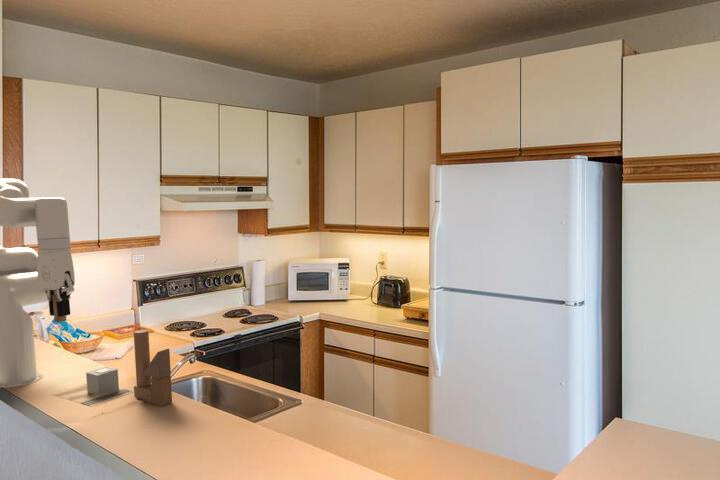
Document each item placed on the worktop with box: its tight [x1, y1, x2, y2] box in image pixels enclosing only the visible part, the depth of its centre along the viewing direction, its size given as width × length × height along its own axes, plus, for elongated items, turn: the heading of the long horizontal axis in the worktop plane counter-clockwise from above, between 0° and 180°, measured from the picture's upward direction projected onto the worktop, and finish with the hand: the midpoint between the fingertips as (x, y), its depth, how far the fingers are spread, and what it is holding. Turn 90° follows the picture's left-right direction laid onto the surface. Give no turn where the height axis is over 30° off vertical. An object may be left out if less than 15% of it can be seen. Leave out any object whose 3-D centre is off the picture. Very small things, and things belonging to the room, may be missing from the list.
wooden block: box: [133, 329, 173, 407], centre depth 149 cm, size 4×11×18 cm, turn 58°
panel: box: [52, 383, 134, 408], centre depth 154 cm, size 18×12×1 cm, turn 57°
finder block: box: [85, 366, 120, 396], centre depth 155 cm, size 5×6×6 cm
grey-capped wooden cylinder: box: [52, 287, 67, 323], centre depth 151 cm, size 3×3×9 cm
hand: (60, 314), depth 151 cm, fingers closed on grey-capped wooden cylinder, 2 cm apart
